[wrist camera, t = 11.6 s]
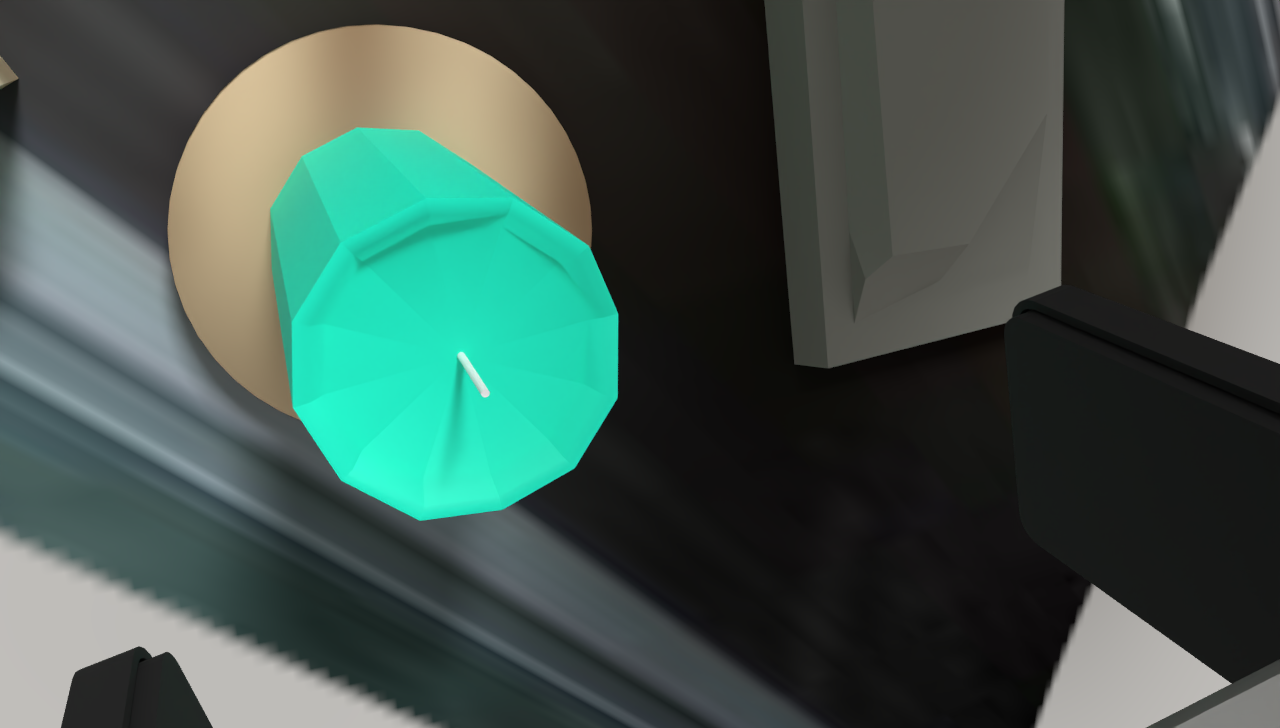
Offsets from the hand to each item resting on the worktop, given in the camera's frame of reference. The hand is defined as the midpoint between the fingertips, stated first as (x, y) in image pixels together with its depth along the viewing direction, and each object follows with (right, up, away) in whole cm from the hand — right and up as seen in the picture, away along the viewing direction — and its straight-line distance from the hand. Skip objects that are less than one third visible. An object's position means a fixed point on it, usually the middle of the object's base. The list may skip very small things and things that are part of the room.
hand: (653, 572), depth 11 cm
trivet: (-7, +6, +18) cm, 20 cm away
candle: (-7, +6, +17) cm, 19 cm away
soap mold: (+8, +13, +22) cm, 27 cm away
